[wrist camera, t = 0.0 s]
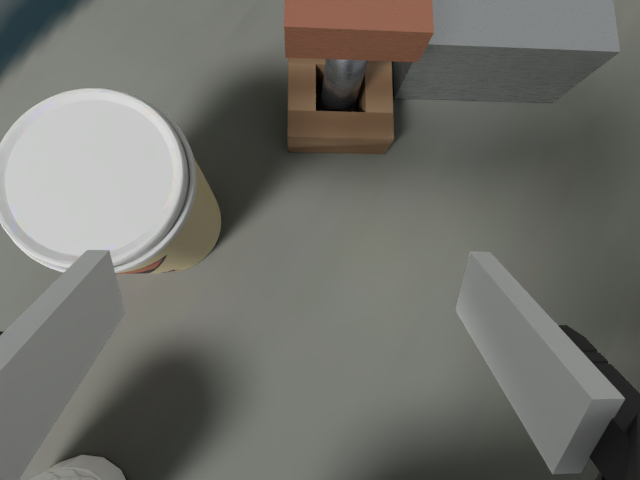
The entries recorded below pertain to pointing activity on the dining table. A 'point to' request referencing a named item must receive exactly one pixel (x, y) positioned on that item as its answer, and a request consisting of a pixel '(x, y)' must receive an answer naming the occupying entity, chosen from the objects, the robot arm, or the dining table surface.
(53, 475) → the white cup
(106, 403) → the dining table surface
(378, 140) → the wooden square frame
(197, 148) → the dining table surface
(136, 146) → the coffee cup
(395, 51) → the block
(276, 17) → the dining table surface
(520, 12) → the block
